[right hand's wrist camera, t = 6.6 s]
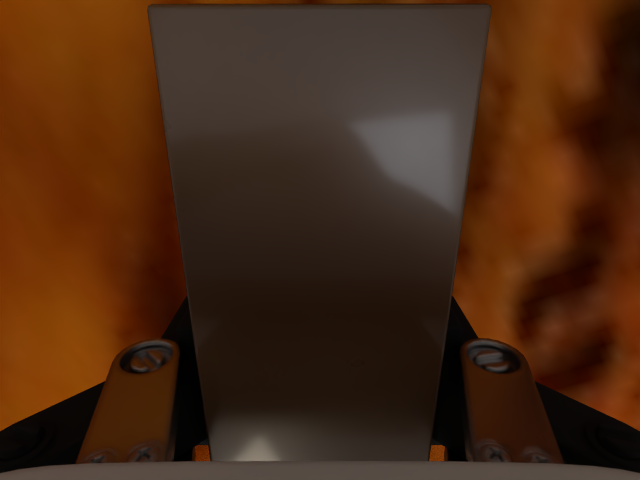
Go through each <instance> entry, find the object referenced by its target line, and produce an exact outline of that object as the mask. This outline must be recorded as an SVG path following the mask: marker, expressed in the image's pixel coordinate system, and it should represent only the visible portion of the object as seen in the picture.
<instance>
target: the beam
mask: <svg viewBox="0 0 640 480" xmlns="http://www.w3.org/2000/svg"><path fill="white" fill-rule="evenodd" d="M490 17H491V6H490V5H488V4H151V5H149V6H148V18H149V25H150V32H151V39H152V46H153V53H154V60H155V68H156V75H157V82H158V89H159V96H160V103H161V110H162V118H163V125H164V132H165V139H166V146H167V153H168V160H169V168H170V175H171V182H172V189H173V196H174V203H175V210H176V217H177V225H178V232H179V239H180V246H181V253H182V260H183V267H184V275H185V282H186V289H187V296H188V303H189V310H190V317H191V325H192V332H193V339H194V346H195V353H196V360H197V367H198V375H199V382H200V389H201V396H202V403H203V410H204V417H205V425H206V432H207V439H208V446H209V453H210V460H211V461H429V457H430V450H431V443H432V435H433V428H434V421H435V414H436V406H437V399H438V392H439V385H440V378H441V370H442V363H443V356H444V349H445V341H446V334H447V327H448V320H449V313H450V305H451V298H452V291H453V284H454V277H455V269H456V262H457V255H458V248H459V240H460V233H461V226H462V219H463V212H464V204H465V197H466V190H467V183H468V175H469V168H470V161H471V154H472V147H473V139H474V132H475V125H476V118H477V110H478V103H479V96H480V89H481V82H482V74H483V67H484V60H485V53H486V46H487V38H488V31H489V24H490Z"/></svg>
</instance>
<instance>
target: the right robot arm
mask: <svg viewBox="0 0 640 480" xmlns="http://www.w3.org/2000/svg"><path fill="white" fill-rule="evenodd" d="M196 445H208V439H207V432H206V425H205V417H204V410H203V403H202V396H201V389H200V382H199V375H198V367H197V360H196V353H195V346H194V339H193V332H192V325H191V317H190V310H189V303H188V296H187V297H186V298H185V300H184V302H183V303H182V305H181V306H180V308H179V310H178V311H177V313H176V315H175V316H174V318H173V320H172V321H171V323H170V325H169V326H168V328H167V329H166V331H165V333H164V334H163V336H162V338H154V339H147V340H143V341H139V342H137V343H134V344H132V345H130V346H128V347H126V348H125V349H123V350H122V351H121V352H120V353H119V354H117V355H116V357H115V359H114V360H113V362H112V365H111V367H110V370H109V373H108V376H107V378H106V381H104V382H102V383H100V384H98V385H96V386H94V387H92V388H90V389H87V390H85V391H83V392H81V393H79V394H77V395H75V396H72V397H70V398H68V399H66V400H64V401H62V402H60V403H57V404H55V405H53V406H51V407H49V408H47V409H45V410H42V411H40V412H38V413H36V414H34V415H32V416H30V417H27V418H25V419H23V420H21V421H19V422H17V423H15V424H13V425H11V426H9V427H7V428H5V429H4V430H2V431H0V480H640V431H638V430H636V429H634V428H633V427H631V426H629V425H627V424H625V423H623V422H621V421H619V420H617V419H614V418H612V417H610V416H608V415H606V414H604V413H602V412H599V411H597V410H595V409H593V408H591V407H589V406H587V405H584V404H582V403H580V402H578V401H576V400H574V399H572V398H569V397H567V396H565V395H563V394H561V393H559V392H557V391H554V390H552V389H550V388H548V387H546V386H544V385H542V384H539V383H537V382H535V381H534V378H533V376H532V373H531V370H530V367H529V365H528V362H527V360H526V359H525V357H524V355H523V354H521V353H520V352H519V351H518V350H517V349H515V348H514V347H512V346H510V345H508V344H506V343H503V342H501V341H497V340H493V339H486V338H478V337H477V335H476V333H475V332H474V330H473V328H472V327H471V325H470V323H469V322H468V320H467V319H466V317H465V315H464V314H463V312H462V310H461V309H460V307H459V305H458V304H457V302H456V301H455V299H454V297H453V296H452V298H451V305H450V313H449V320H448V327H447V334H446V341H445V349H444V356H443V363H442V370H441V378H440V385H439V392H438V399H437V406H436V414H435V421H434V428H433V435H432V443H431V445H443V446H445V452H444V461H196V452H195V446H196Z"/></svg>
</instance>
